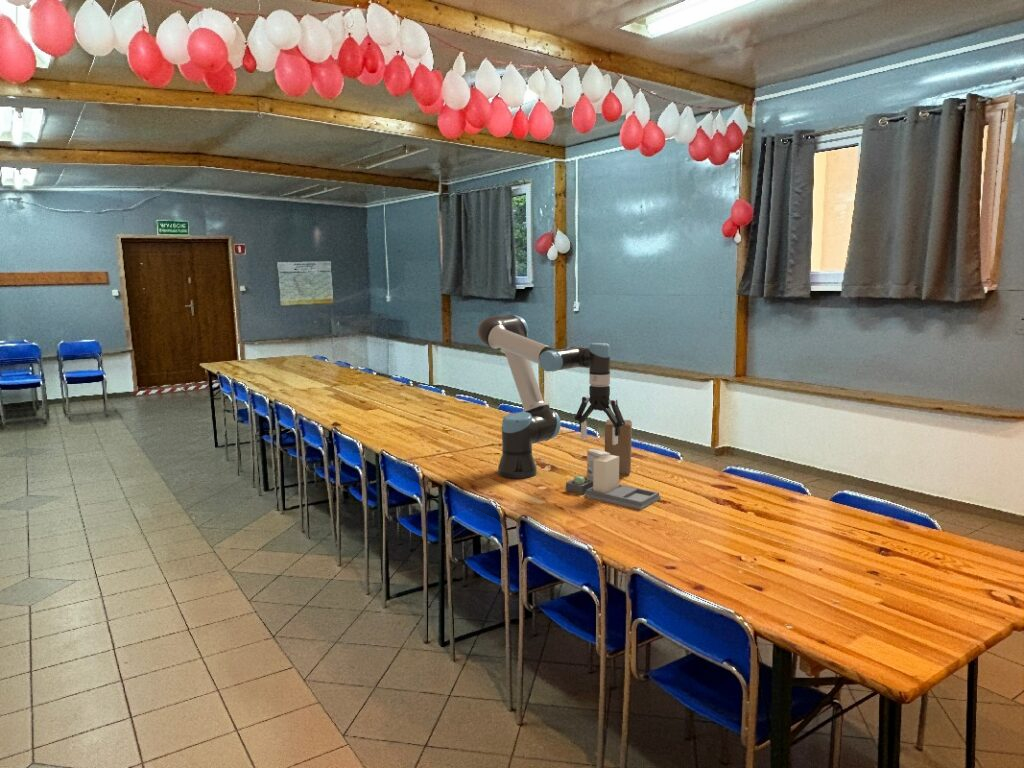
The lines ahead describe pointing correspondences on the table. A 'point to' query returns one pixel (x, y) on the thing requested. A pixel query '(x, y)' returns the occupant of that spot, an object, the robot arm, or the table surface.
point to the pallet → (626, 496)
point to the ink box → (591, 456)
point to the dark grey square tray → (578, 486)
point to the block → (620, 445)
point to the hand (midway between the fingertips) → (599, 441)
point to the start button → (579, 480)
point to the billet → (606, 473)
